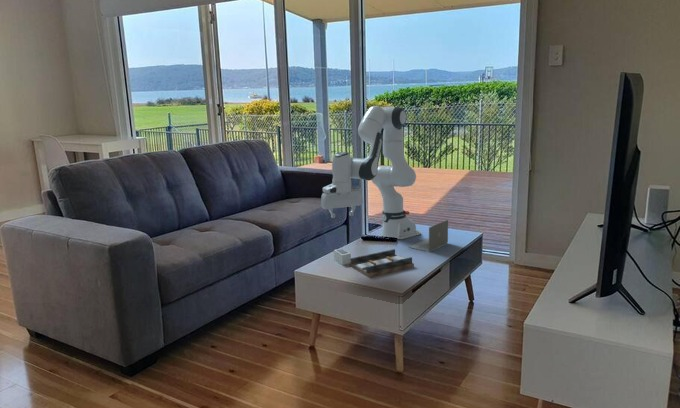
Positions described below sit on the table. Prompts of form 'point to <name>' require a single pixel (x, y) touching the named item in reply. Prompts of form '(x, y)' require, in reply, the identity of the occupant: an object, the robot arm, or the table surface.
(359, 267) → the rail board
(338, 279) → the table surface
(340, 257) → the block
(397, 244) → the table surface
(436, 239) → the laptop
